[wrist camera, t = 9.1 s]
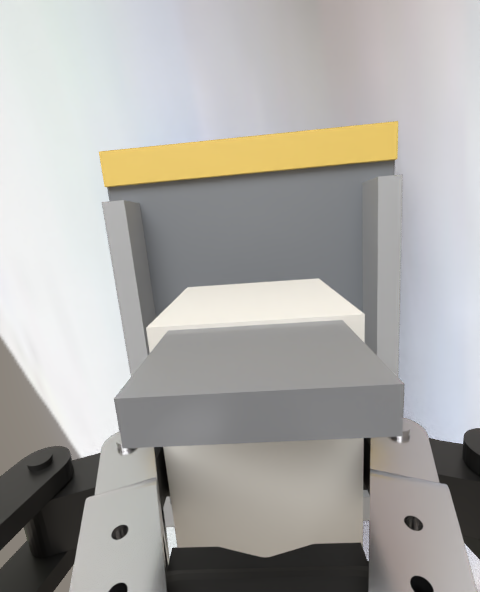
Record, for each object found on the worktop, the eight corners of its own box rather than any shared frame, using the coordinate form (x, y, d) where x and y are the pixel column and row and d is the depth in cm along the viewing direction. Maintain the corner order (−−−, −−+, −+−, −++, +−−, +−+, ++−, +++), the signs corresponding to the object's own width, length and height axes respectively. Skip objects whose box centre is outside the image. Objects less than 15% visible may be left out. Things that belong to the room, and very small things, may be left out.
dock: (125, 164, 19) (80, 142, 14) (371, 140, 18) (416, 107, 13) (170, 463, 23) (147, 527, 18) (371, 454, 22) (404, 519, 17)
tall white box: (313, 274, 13) (443, 375, 4) (317, 445, 15) (416, 770, 6) (192, 282, 13) (78, 393, 5) (210, 450, 15) (152, 770, 6)
